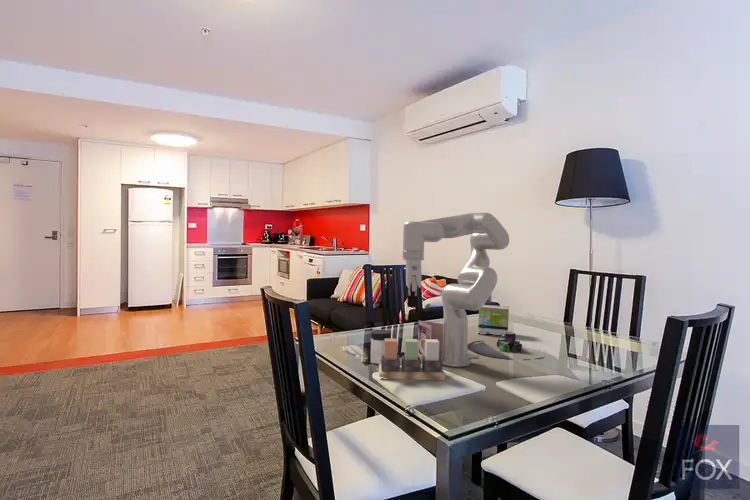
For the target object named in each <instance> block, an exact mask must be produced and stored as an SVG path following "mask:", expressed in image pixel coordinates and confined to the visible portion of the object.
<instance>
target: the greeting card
mask: <svg viewBox="0 0 750 500" xmlns="http://www.w3.org/2000/svg"><path fill="white" fill-rule="evenodd" d="M417 325H418V332H417V333H418V334H417V335H418V337H417V338H418V339H417V340H418V356H419V357H420V358H422V356H425V339H437V340H438V341H439V357H443V325H444V323H439V322H433V321H426V320H418V324H417Z"/></svg>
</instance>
